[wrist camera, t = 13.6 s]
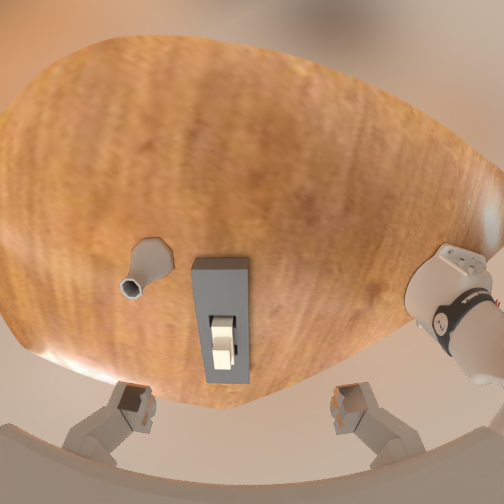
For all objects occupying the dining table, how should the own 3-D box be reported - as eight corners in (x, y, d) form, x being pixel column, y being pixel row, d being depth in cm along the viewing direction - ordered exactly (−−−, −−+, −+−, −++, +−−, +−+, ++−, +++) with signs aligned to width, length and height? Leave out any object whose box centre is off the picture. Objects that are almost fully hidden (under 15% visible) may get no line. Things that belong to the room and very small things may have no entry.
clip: (233, 302, 45) (230, 340, 36) (235, 339, 48) (233, 378, 39) (215, 302, 45) (208, 339, 36) (219, 339, 48) (214, 377, 39)
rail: (247, 257, 42) (247, 269, 38) (249, 368, 51) (249, 383, 48) (195, 258, 42) (190, 269, 38) (209, 368, 51) (207, 382, 47)
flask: (182, 270, 43) (166, 304, 34) (145, 283, 44) (124, 317, 35) (162, 229, 40) (139, 255, 31) (125, 245, 41) (97, 273, 32)
